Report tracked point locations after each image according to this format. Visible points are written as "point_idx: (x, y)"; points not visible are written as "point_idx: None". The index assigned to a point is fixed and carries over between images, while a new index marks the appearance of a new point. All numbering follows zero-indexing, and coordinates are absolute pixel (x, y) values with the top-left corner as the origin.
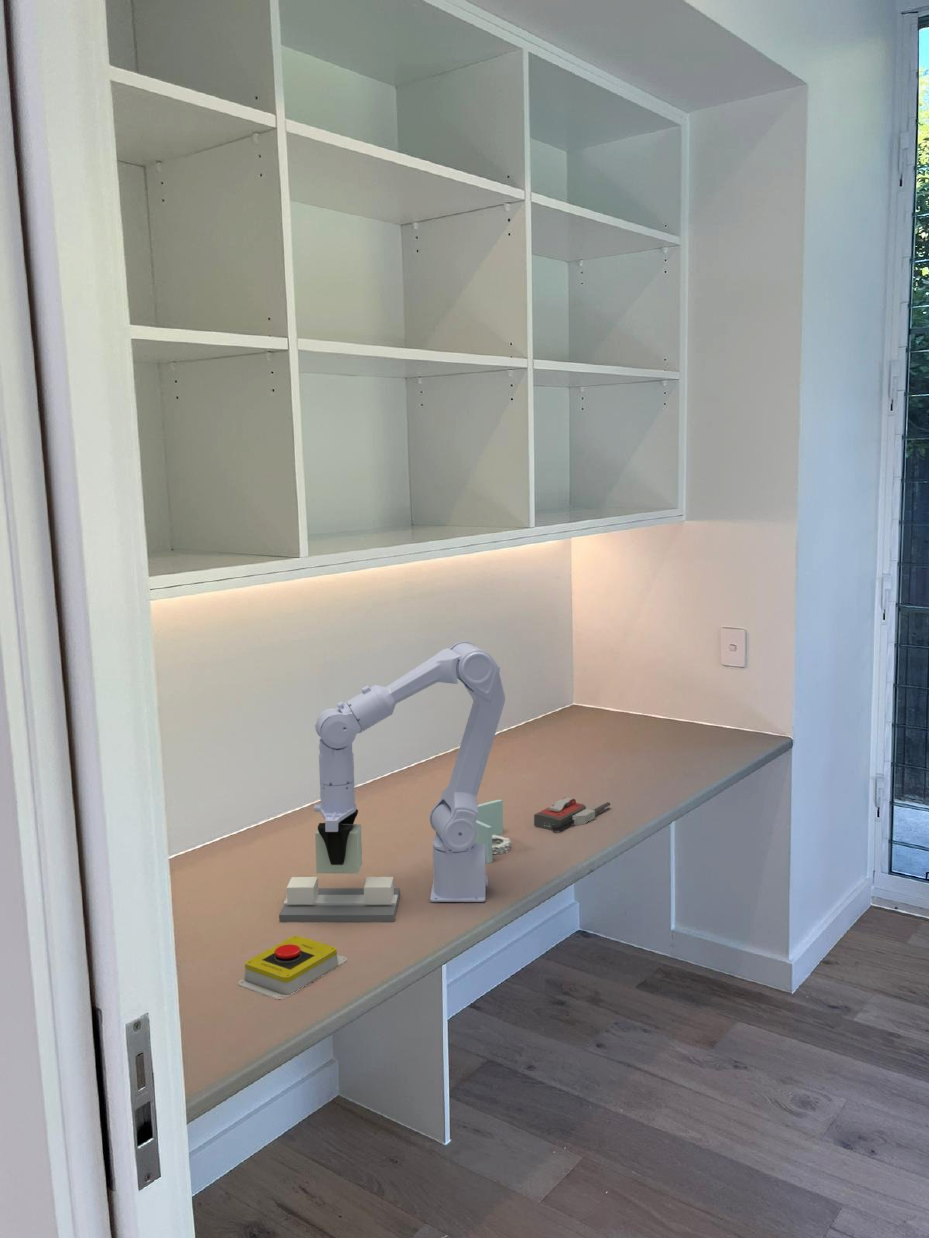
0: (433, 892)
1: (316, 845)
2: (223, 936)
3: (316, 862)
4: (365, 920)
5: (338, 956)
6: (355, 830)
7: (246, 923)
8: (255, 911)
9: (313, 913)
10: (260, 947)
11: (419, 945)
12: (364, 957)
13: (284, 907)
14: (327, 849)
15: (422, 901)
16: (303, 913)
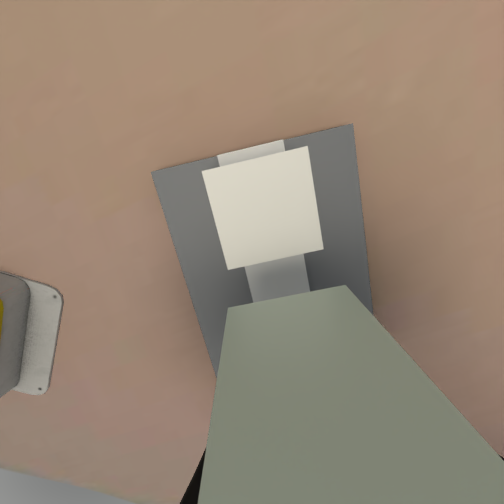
0: None
1: (212, 428)
2: (8, 40)
3: (223, 338)
4: None
5: (43, 376)
6: None
7: (115, 72)
8: (202, 59)
9: (190, 265)
10: (3, 190)
11: (152, 480)
12: (67, 416)
13: (204, 165)
14: (184, 494)
15: None
16: (181, 239)
